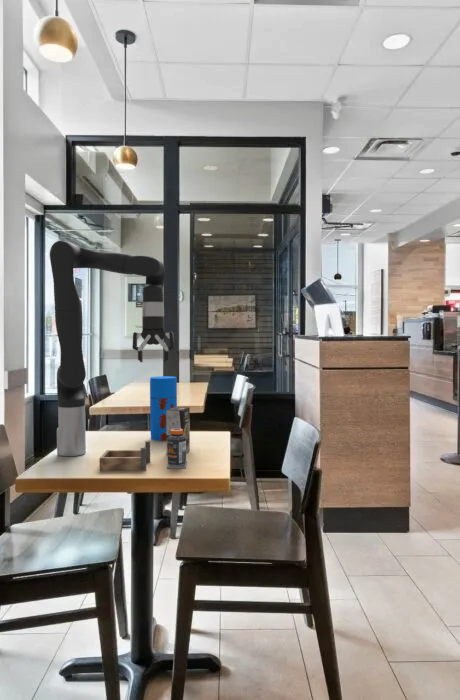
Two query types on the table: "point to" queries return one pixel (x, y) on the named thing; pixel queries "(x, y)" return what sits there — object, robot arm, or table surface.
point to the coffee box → (178, 423)
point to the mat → (177, 466)
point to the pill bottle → (176, 448)
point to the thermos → (161, 404)
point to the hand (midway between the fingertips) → (153, 362)
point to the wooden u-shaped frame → (125, 459)
